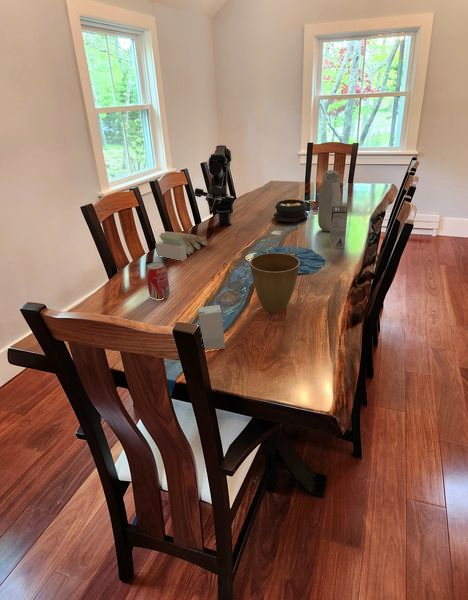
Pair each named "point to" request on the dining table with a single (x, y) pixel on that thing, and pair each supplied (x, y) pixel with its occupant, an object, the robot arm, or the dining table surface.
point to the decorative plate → (300, 258)
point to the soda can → (157, 280)
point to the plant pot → (274, 279)
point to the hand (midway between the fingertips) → (210, 214)
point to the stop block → (171, 250)
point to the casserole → (290, 210)
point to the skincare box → (211, 327)
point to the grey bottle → (328, 198)
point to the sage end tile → (174, 240)
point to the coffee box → (338, 226)
